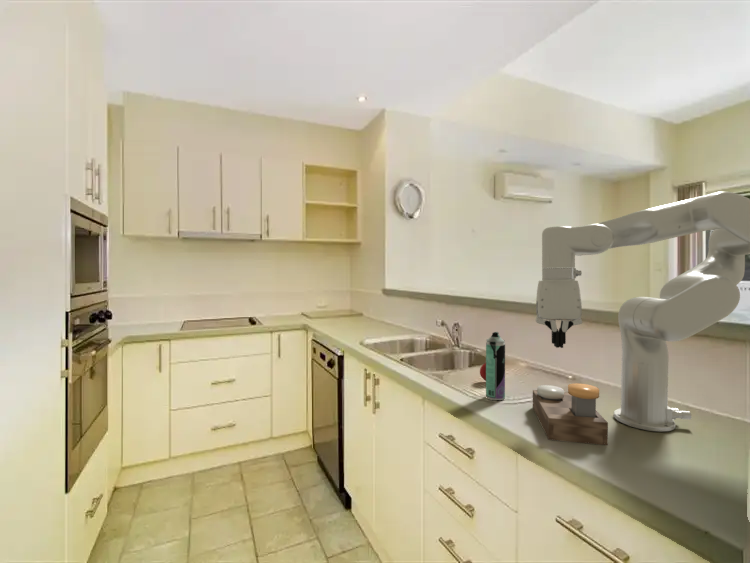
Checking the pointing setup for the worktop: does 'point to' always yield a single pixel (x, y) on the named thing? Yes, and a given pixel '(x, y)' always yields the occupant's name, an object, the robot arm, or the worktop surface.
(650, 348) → the robot arm
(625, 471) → the worktop surface
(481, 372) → the onion
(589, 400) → the orange button
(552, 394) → the white button
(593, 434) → the button panel
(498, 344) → the spray can
